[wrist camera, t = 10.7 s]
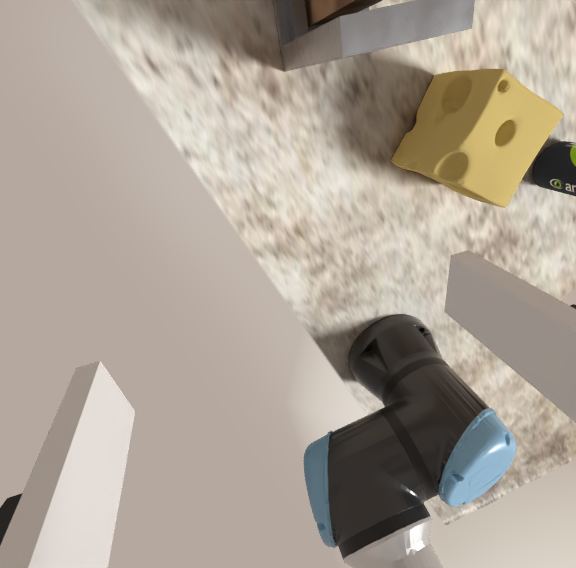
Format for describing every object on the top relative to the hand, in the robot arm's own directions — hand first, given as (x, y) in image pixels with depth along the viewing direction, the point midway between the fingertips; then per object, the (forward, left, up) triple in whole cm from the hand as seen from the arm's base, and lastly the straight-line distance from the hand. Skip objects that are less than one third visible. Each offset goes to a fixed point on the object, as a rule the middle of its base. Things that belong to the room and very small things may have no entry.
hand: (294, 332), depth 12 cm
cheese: (-2, -27, -29) cm, 39 cm away
